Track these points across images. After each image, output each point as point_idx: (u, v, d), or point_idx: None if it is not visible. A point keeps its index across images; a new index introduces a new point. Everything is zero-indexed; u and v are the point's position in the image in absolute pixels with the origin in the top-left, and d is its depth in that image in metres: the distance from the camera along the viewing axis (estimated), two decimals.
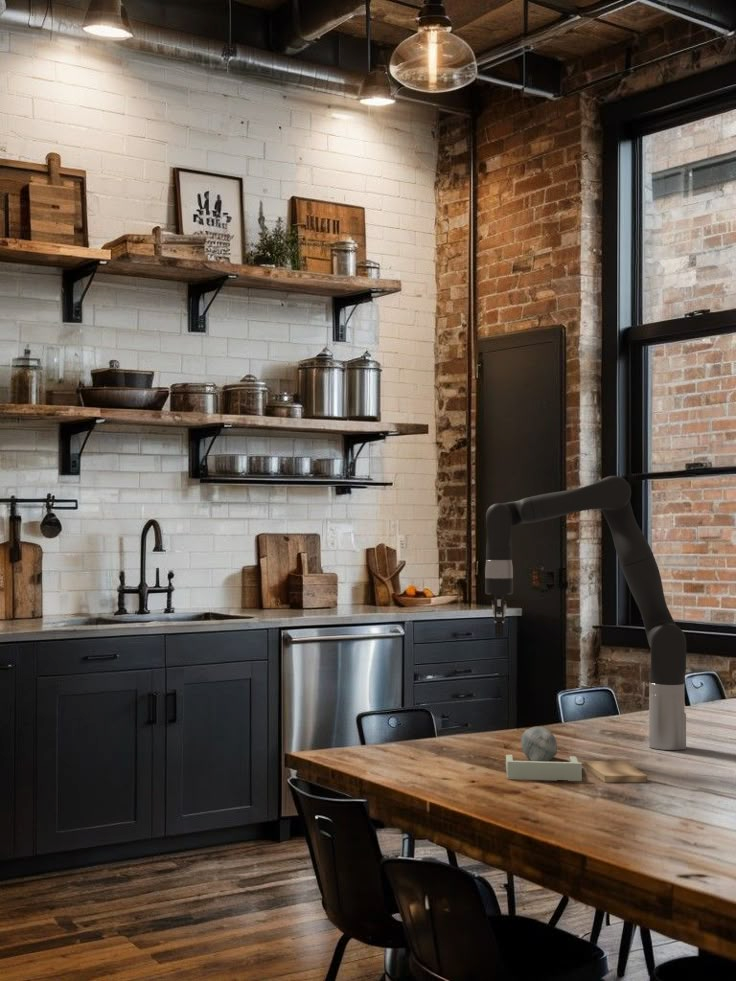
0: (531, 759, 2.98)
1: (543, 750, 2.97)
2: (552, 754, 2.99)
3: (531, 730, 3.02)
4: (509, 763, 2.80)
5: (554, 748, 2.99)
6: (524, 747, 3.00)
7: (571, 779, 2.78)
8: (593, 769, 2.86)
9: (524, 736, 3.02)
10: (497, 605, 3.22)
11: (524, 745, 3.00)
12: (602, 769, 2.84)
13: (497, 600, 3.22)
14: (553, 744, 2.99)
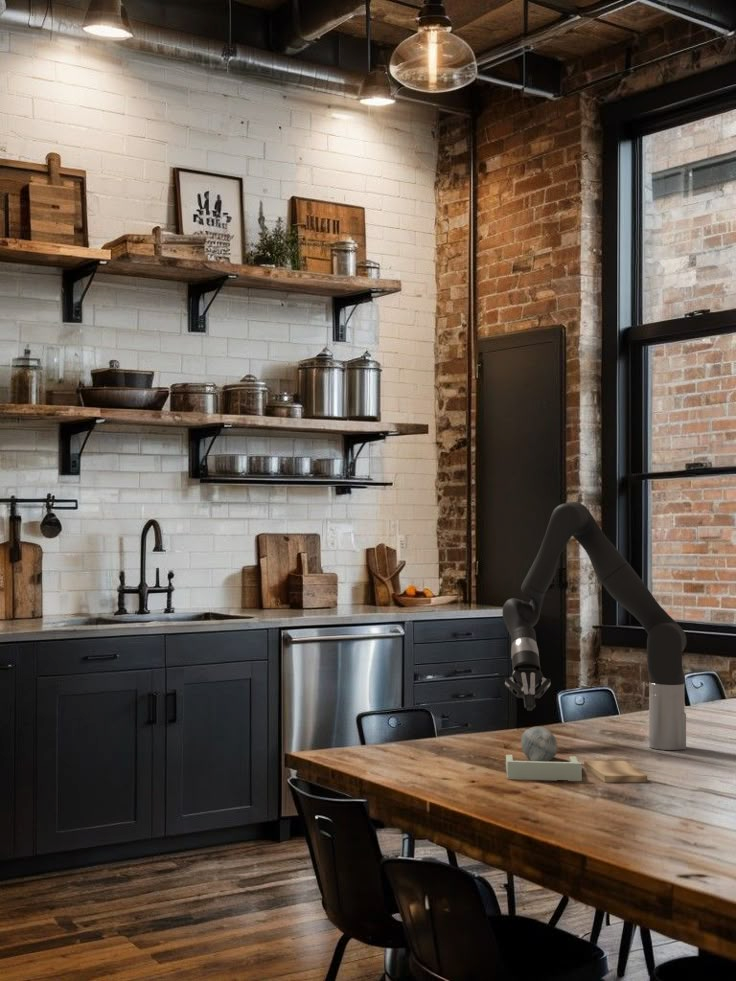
0: (531, 759, 2.98)
1: (543, 750, 2.97)
2: (552, 754, 2.99)
3: (531, 730, 3.02)
4: (509, 763, 2.80)
5: (554, 748, 2.99)
6: (524, 747, 3.00)
7: (571, 779, 2.78)
8: (593, 769, 2.86)
9: (524, 736, 3.02)
10: (508, 686, 3.28)
11: (524, 745, 3.00)
12: (602, 769, 2.84)
13: (505, 683, 3.29)
14: (553, 744, 2.99)
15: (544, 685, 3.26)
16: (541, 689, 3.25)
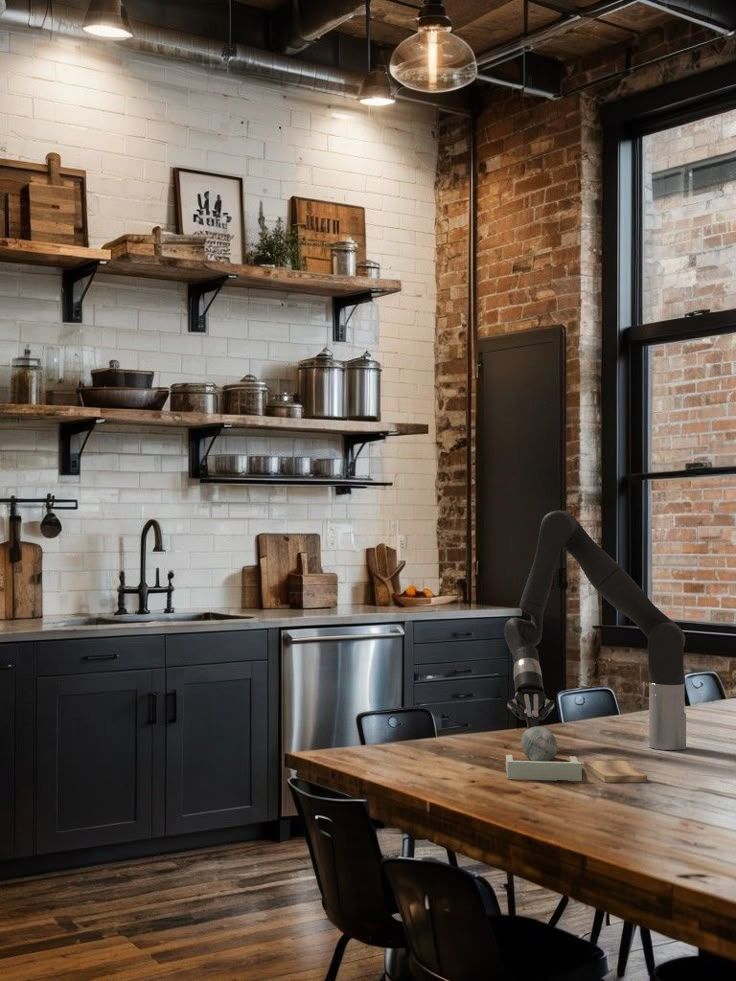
0: (531, 759, 2.98)
1: (543, 750, 2.97)
2: (552, 754, 2.99)
3: (531, 730, 3.02)
4: (509, 763, 2.80)
5: (554, 748, 2.99)
6: (524, 747, 3.00)
7: (571, 779, 2.78)
8: (593, 769, 2.86)
9: (524, 736, 3.02)
10: (511, 708, 3.21)
11: (524, 745, 3.00)
12: (602, 769, 2.84)
13: (507, 705, 3.22)
14: (553, 744, 2.99)
15: (547, 707, 3.19)
16: (544, 711, 3.18)
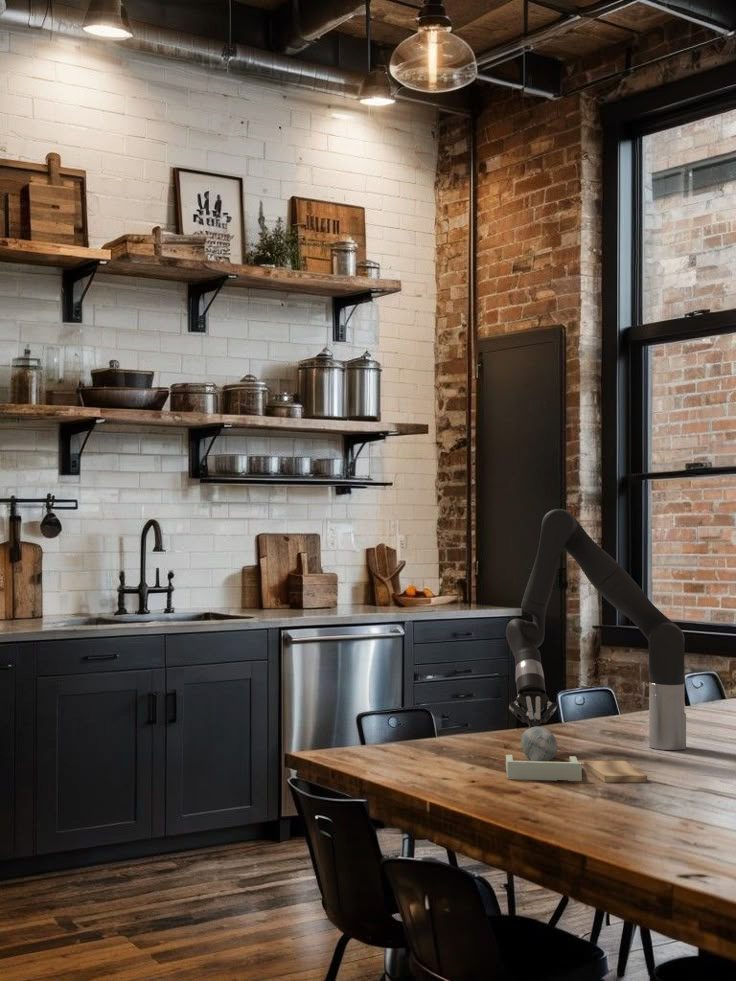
0: (531, 759, 2.98)
1: (543, 750, 2.97)
2: (552, 754, 2.99)
3: (531, 730, 3.02)
4: (509, 763, 2.80)
5: (554, 748, 2.99)
6: (524, 747, 2.99)
7: (571, 779, 2.78)
8: (593, 769, 2.86)
9: (524, 736, 3.01)
10: (512, 711, 3.16)
11: (524, 745, 3.00)
12: (602, 769, 2.84)
13: (509, 707, 3.17)
14: (553, 744, 2.99)
15: (550, 709, 3.15)
16: (547, 714, 3.14)
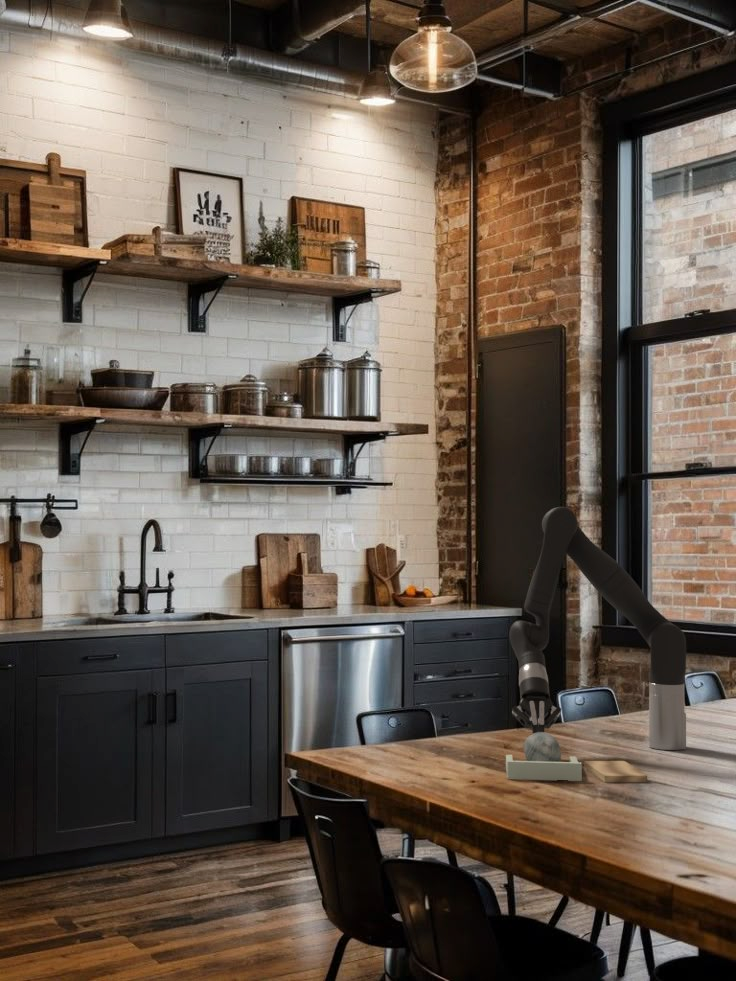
0: None
1: (546, 756, 2.88)
2: (556, 761, 2.90)
3: (534, 736, 2.93)
4: (509, 763, 2.80)
5: (558, 755, 2.90)
6: (527, 753, 2.90)
7: (571, 779, 2.78)
8: (593, 769, 2.86)
9: (527, 742, 2.92)
10: (515, 716, 3.07)
11: (527, 751, 2.91)
12: (602, 769, 2.84)
13: (512, 712, 3.08)
14: (557, 750, 2.90)
15: (554, 715, 3.06)
16: (551, 719, 3.05)
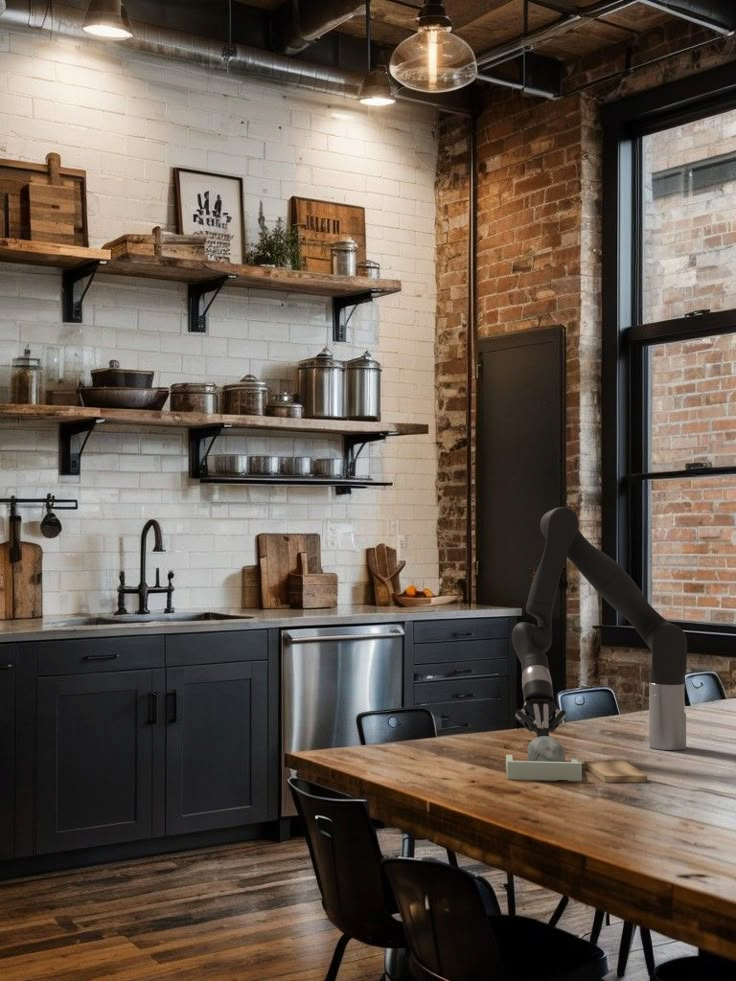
0: None
1: (550, 761, 2.83)
2: None
3: (537, 740, 2.88)
4: (509, 763, 2.80)
5: (562, 759, 2.85)
6: (530, 758, 2.85)
7: (571, 779, 2.78)
8: (593, 769, 2.86)
9: (530, 746, 2.87)
10: (519, 719, 3.02)
11: (530, 756, 2.85)
12: (602, 769, 2.84)
13: (516, 716, 3.03)
14: (560, 755, 2.84)
15: (558, 718, 3.01)
16: (555, 722, 3.00)
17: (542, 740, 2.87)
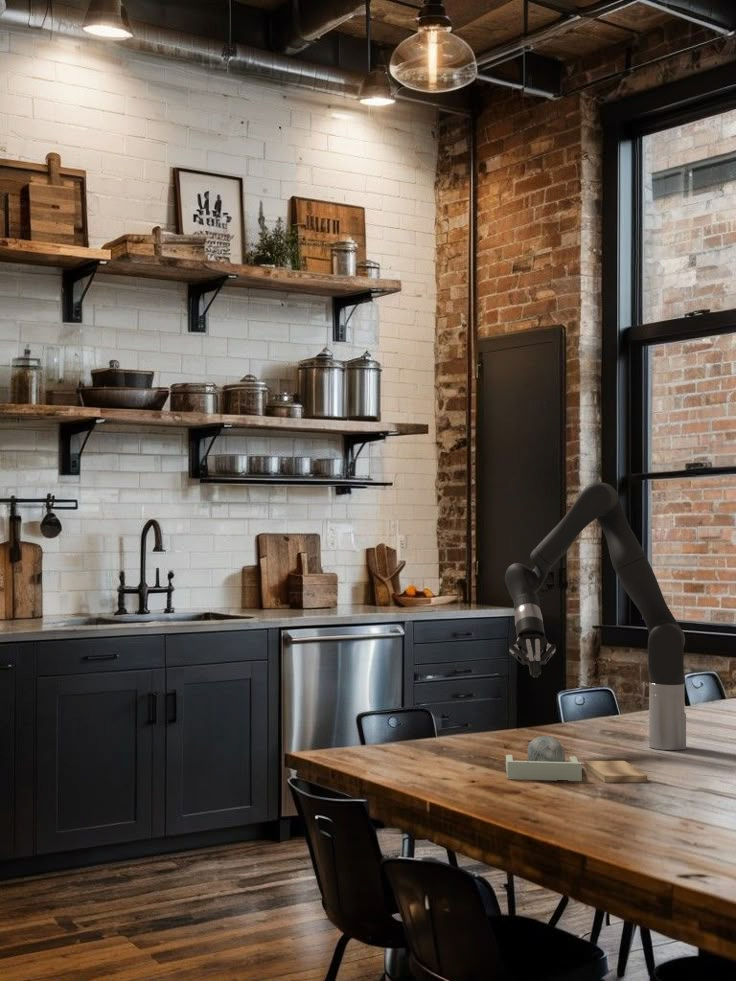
0: None
1: (550, 761, 2.83)
2: None
3: (537, 740, 2.88)
4: (509, 763, 2.80)
5: (562, 759, 2.85)
6: (530, 758, 2.85)
7: (571, 779, 2.78)
8: (593, 769, 2.86)
9: (530, 746, 2.87)
10: (513, 653, 3.23)
11: (530, 756, 2.85)
12: (602, 769, 2.84)
13: (509, 650, 3.24)
14: (560, 755, 2.84)
15: (549, 651, 3.22)
16: (546, 655, 3.21)
17: (542, 740, 2.87)
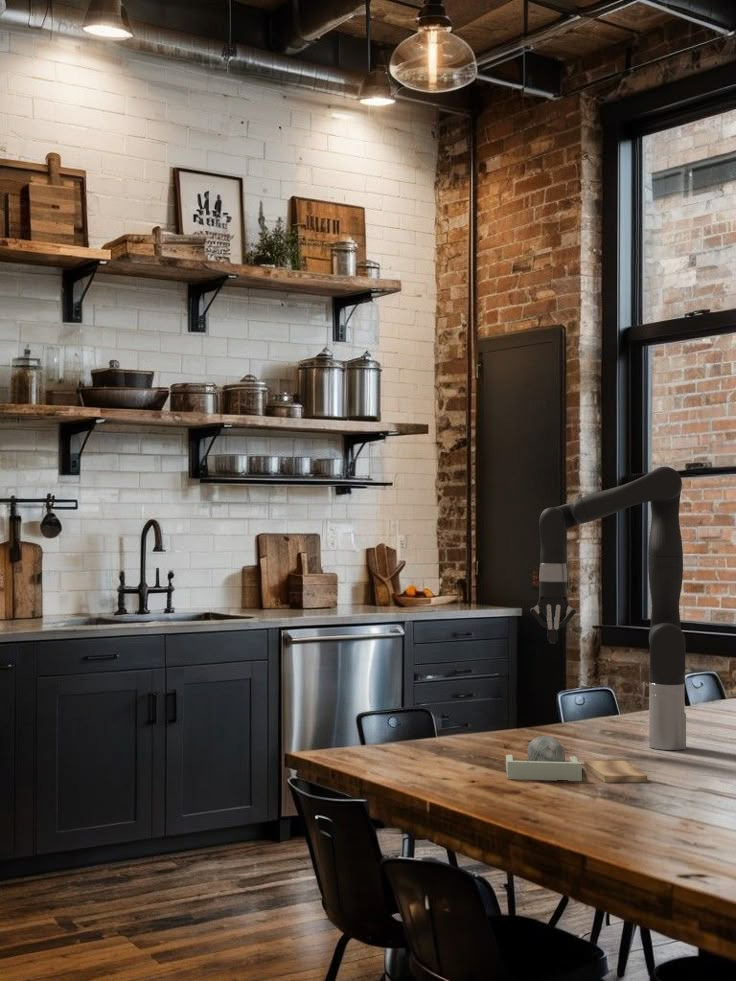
0: None
1: (550, 761, 2.83)
2: None
3: (537, 740, 2.88)
4: (509, 763, 2.80)
5: (562, 759, 2.85)
6: (530, 758, 2.85)
7: (571, 779, 2.78)
8: (593, 769, 2.86)
9: (530, 746, 2.87)
10: None
11: (530, 756, 2.85)
12: (602, 769, 2.84)
13: None
14: (560, 755, 2.84)
15: (568, 618, 3.31)
16: (565, 623, 3.31)
17: (542, 740, 2.87)
